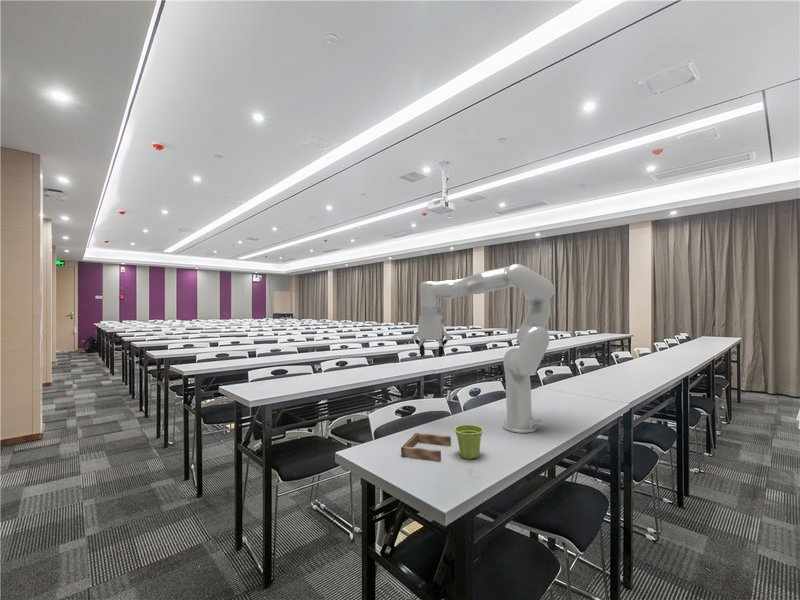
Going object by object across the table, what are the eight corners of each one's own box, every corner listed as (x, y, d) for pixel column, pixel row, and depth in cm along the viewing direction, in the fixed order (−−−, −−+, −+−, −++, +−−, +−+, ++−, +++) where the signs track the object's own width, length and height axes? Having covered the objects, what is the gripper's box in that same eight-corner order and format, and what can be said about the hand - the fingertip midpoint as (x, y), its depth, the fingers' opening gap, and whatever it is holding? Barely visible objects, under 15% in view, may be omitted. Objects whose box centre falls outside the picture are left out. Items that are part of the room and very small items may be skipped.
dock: (451, 444, 129) (450, 436, 129) (440, 461, 115) (439, 452, 115) (415, 441, 133) (415, 432, 133) (401, 456, 119) (401, 447, 119)
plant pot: (451, 458, 117) (450, 431, 117) (460, 448, 125) (459, 423, 125) (479, 463, 112) (478, 435, 113) (487, 452, 121) (486, 426, 121)
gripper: (453, 311, 147) (455, 355, 146) (413, 312, 153) (414, 354, 152) (449, 311, 140) (450, 357, 139) (406, 312, 146) (408, 357, 145)
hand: (431, 355), depth 146 cm, fingers open, 6 cm apart
